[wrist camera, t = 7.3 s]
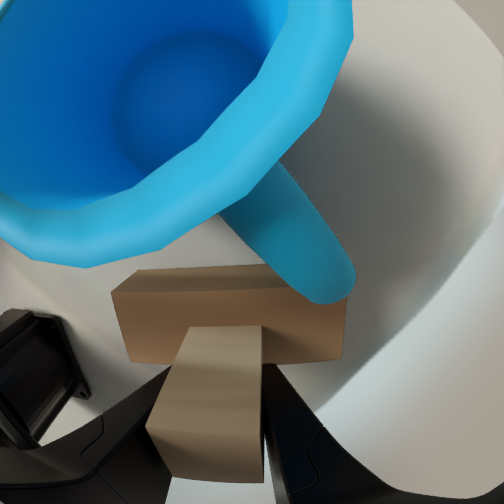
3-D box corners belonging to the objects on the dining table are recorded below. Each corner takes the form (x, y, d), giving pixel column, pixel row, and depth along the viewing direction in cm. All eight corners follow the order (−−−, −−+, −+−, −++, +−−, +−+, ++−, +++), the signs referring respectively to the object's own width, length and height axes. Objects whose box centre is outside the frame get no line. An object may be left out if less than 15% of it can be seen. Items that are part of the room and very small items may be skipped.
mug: (82, 116, 10) (-56, 98, 2) (210, 2, 9) (163, -119, 1) (242, 304, 13) (219, 463, 5) (385, 191, 11) (536, 237, 3)
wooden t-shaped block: (326, 339, 12) (369, 469, 5) (154, 343, 12) (89, 455, 5) (329, 260, 11) (410, 370, 4) (137, 270, 11) (31, 362, 4)
